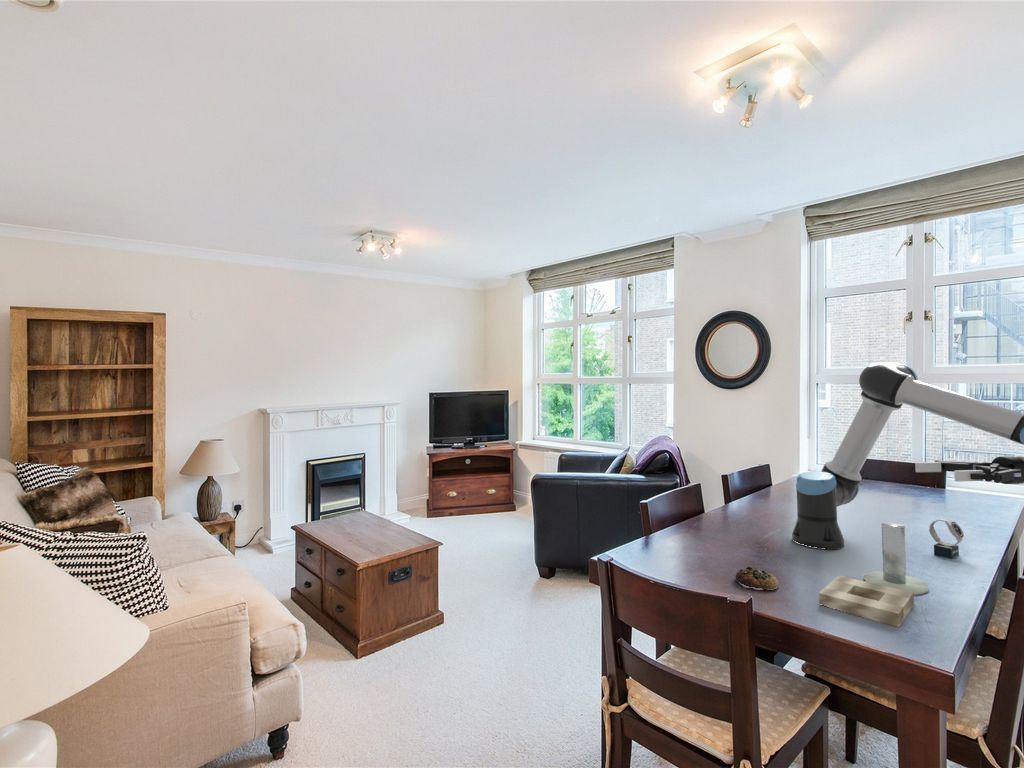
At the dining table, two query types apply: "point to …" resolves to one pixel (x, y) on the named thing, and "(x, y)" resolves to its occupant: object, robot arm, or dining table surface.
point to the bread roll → (756, 578)
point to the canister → (894, 553)
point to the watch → (947, 548)
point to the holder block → (868, 600)
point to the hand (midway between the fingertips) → (934, 471)
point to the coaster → (911, 584)
